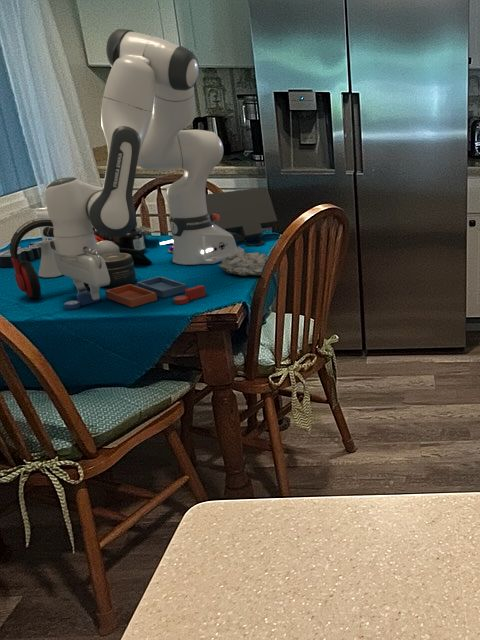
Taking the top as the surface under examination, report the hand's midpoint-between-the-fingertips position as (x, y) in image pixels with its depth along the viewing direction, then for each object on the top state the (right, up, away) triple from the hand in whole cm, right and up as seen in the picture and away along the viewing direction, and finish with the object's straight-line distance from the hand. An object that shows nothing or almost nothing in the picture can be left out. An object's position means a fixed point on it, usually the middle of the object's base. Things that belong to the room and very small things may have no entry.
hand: (89, 296), depth 170 cm
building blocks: (+4, +22, +47) cm, 52 cm away
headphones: (-13, +2, +8) cm, 15 cm away
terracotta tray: (+9, 0, +3) cm, 10 cm away
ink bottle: (-11, +19, +45) cm, 50 cm away
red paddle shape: (+25, 0, +3) cm, 26 cm away
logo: (-45, +19, +40) cm, 63 cm away
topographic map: (-14, +28, +53) cm, 61 cm away
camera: (+16, +40, +59) cm, 73 cm away
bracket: (-13, +25, +57) cm, 64 cm away
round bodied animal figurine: (-11, +10, +27) cm, 31 cm away
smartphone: (-14, +17, +34) cm, 40 cm away
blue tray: (+15, +3, +10) cm, 18 cm away
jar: (0, +5, +16) cm, 16 cm away
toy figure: (-19, +21, +49) cm, 56 cm away
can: (-44, +25, +58) cm, 77 cm away
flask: (-23, +9, +23) cm, 34 cm away
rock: (+39, +15, +30) cm, 51 cm away
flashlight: (-40, +26, +44) cm, 65 cm away
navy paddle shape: (-1, -2, -1) cm, 3 cm away
